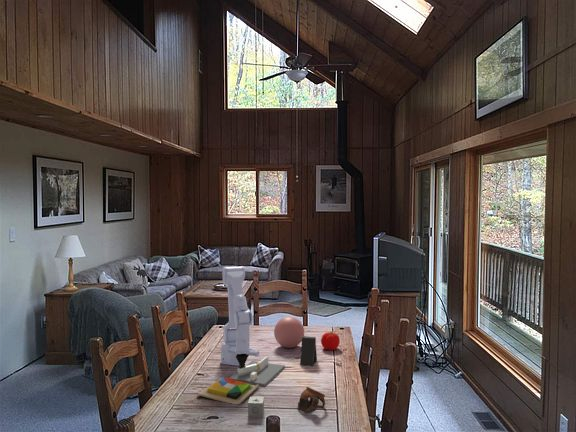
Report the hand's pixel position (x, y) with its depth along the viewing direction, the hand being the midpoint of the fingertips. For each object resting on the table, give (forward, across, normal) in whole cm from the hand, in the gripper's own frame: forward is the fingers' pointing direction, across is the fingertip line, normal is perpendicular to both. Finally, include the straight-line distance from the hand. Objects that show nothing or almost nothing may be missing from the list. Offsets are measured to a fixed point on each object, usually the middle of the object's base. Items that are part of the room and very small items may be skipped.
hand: (242, 371), depth 191 cm
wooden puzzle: (+3, +2, -16) cm, 16 cm away
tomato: (+3, +25, +49) cm, 55 cm away
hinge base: (+2, +5, +5) cm, 7 cm away
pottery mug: (+3, +37, -18) cm, 41 cm away
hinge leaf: (+1, +2, +1) cm, 3 cm away
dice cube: (+3, +20, -29) cm, 35 cm away
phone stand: (+3, +21, +26) cm, 34 cm away
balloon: (+3, +4, +46) cm, 46 cm away
